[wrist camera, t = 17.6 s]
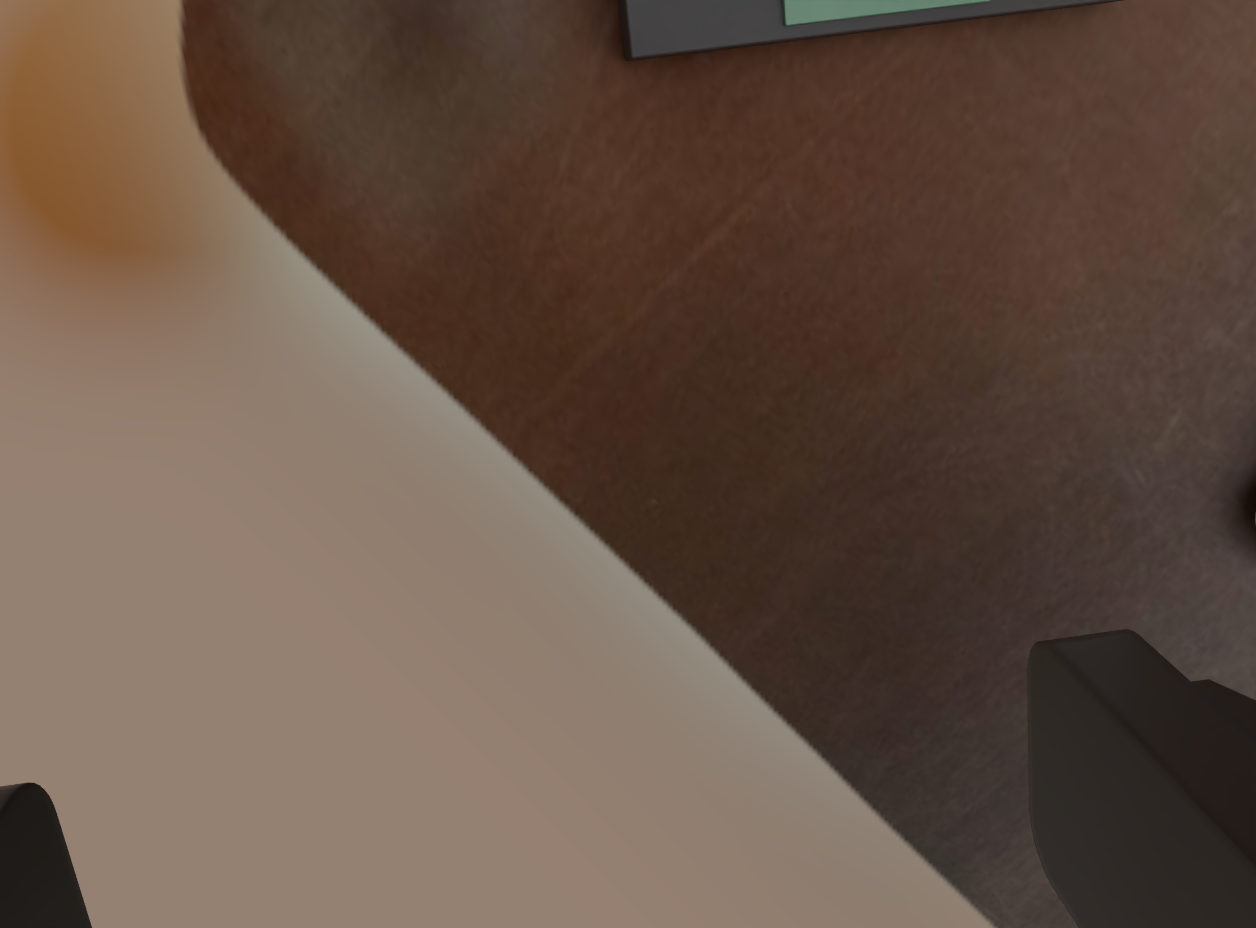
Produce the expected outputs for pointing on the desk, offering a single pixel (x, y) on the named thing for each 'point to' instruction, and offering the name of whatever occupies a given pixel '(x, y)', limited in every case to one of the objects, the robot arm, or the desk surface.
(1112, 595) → the desk surface
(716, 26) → the scale
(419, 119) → the desk surface
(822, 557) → the desk surface
